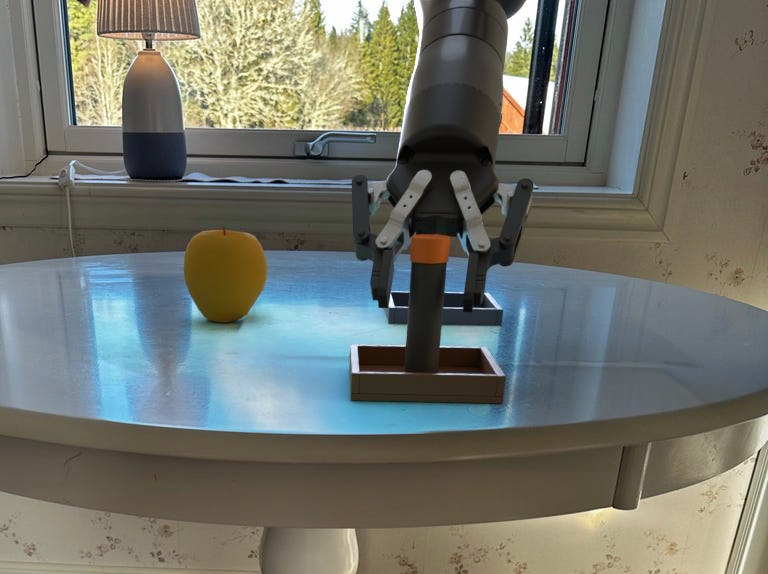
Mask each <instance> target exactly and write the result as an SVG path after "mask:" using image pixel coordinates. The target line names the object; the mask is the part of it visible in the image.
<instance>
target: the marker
mask: <svg viewBox="0 0 768 574" xmlns="http://www.w3.org/2000/svg"><path fill="white" fill-rule="evenodd" d="M450 246H451V237H449V236H446V235H439V234H421V235H413V236H412V240H411V244H410V254H409V255H410V257H409V261H410V277H409V291H408V292H409V306H408V321H407V324H406V337H405V345H406V352H405V367H404V373H438V364H439V352H440V346H441V340H442V339H441V338H442V329H443V328H442V327H443V325H442V316H443V304H444V292H446V291H445V290H446V279H447V268H448V267H447V265H448V262H449V259H450Z"/></svg>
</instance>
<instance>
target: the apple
mask: <svg viewBox="0 0 768 574" xmlns="http://www.w3.org/2000/svg"><path fill="white" fill-rule="evenodd" d="M183 258H184V259H183V276H184V277H183V278H184V279H183V280H184V283H185V285H186V288H187V290H188V293H189V295H190V297H191V299H192V301H193V303H194V304H195V306H196V308H197V309H198V312H200V313H201V315H202V316H203V318H205V319H207V320H208V321H210V322H215V323H223V324H224V323H225V324H226V323H232V322H236V321H239V320H242V319H243V318H244V317H245V316H247V315H248V314H249V312H250V311H251V309H252V308H253V306H254V305H255V303H256V301H258V298H259V297H260V295H261V294H262V293H263V291H264V288H265V286H266V282H267V279H268V262H267V261H268V260H267V256H266V254H265V252H264V248H263V246H262V244H261V243H260V241H259V240H258V239H257V237H256V236H255V235H253V234H251V233H250V232H245V231H237V230H230V229H229V230H228V229H226V226H222V229H211V230H202V231H200V232H199V233H198V232H197V234H195V235H194V236H192V237H191V239H190V241H189V242H188V244H187V246H186V249H185V252H184V257H183Z"/></svg>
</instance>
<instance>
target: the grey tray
mask: <svg viewBox="0 0 768 574" xmlns="http://www.w3.org/2000/svg"><path fill="white" fill-rule="evenodd" d="M463 299H464V291H463V292H461V291H460V292H459V291H458V292H457V291H444V304H443V316H442V326H488V327H489V326H491V327H492V326H497V327H499V326H500V327H501V326H502V325H503V317H504V309H503V307H502V306H501V305H500V304H499V302H498V301H497V300H496V299H495V298H494V297H493V295H491V293H489V292H484V300H483V302H482V303H481V305H473V312H472V313H469V312H463ZM408 306H409V291H402V290H401V291H399V290H398V291H396V290H391V294H390V300H389V307H388V308H384V312H385V316H386V320H387V324H388V325H407V321H408Z"/></svg>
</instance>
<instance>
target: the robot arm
mask: <svg viewBox="0 0 768 574" xmlns="http://www.w3.org/2000/svg"><path fill="white" fill-rule="evenodd" d="M413 2H414V7H415V12H416V18H417V26H418V30H419V38H418V46H417V52H416V58H415V65H414V69H413V73H412V75H411V79H410V82H409V85H408V89H407V93H406V101H405V105H404V113H403V118H402V125H401V131H400V136H399V144H398V149H397V156H396V162H395V167H394V168H393V169H392V171H391V173H389V175H388V176H387V178H386V180H377V181H370V182H368V178H367V176H366V175H364V174H356V175H354V176H353V177H352V178H351V207H352V209H351V211H352V213H351V214H352V235H353V236H352V237H353V244H354V253H355V258H356V259H357V260H358V261H361V262H365V261H367V260H368V261H371V262H372V267H371V274H370V280H369V284H370V295H371V299H372V301H377V305H378V309H385V308H388V307H389V300H390V294H391V291H392V287H393V282H394V281H393V280H394V276H395V275H394V274H395V262H396V261H397V259H398V258H399V256H400V255H401V253H402V252H403V251H406V250H407V249H408V248H409V246H411V240H412V236H413V235H421V234H434V235H446V236H449V237H450V238H458V240H459V242H460V244H461V247H462V250H463V252H464V253H466V254H467V257H468V261H467V269H466V276H465V281H464V282H465V283H464V291H463V292H464V299H463V312H469V313H472V312H473V305H481V303H482V302H483V300H484V293H486V285H487V276H488V271H489V270H490V268H491V267H493V266H497V265H499V266H501V267H505V268H506V267H510V266H511V265H512V264H513V263H514V261H515V258H516V255H517V252H518V249H519V245H520V243H521V239H522V236H523V233H524V230H525V228H526V224H527V221H528V218H529V214H530V212H531V208H532V201H533V193H534V181H533V180H531V179H530V178H521V179H519V180H518V181H517V182H516V185H515V184H509V183H503V182H500V181H499V178H498V176H497V175H496V172H495V166H496V158H497V151H498V142H499V135H500V128H501V125H502V122H503V121H502V120H503V113H502V110H503V104H504V70H505V63H506V55H507V47H508V37H509V23H508V20H510V19H511V18H513V17H514V16H515V15H516V14H517V13H518V12H519V11H520V10H521V9H522V8H523V6H524V5H525V3H526V2H527V0H413ZM384 200H387V201H388V202H389V204H390V205H391V207H392V210H391V212H390V214H389V218H388V221H387V223H386V224H385V226H384V227H383V228H382V229H381V231H380V233H379V234H374V233H372V232H371V216H374V215H375V214H376V212H377V211H378V210H379V209H380V206H381V203H382V202H383V201H384ZM496 202H497V203H498V204H500V206H501V208H500V212H501V214H502V215H503V216H505V220H504V222H503V225H502V228H501V231H500V235H499V237H495V238H491V239H490V238H489V236H488V233H487V231H486V228H485V226H484V223H483V215H484V214H485V213H486V212H487V211H488V210H489V209H491V208H492V207H493V206H494V204H495V203H496Z"/></svg>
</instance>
